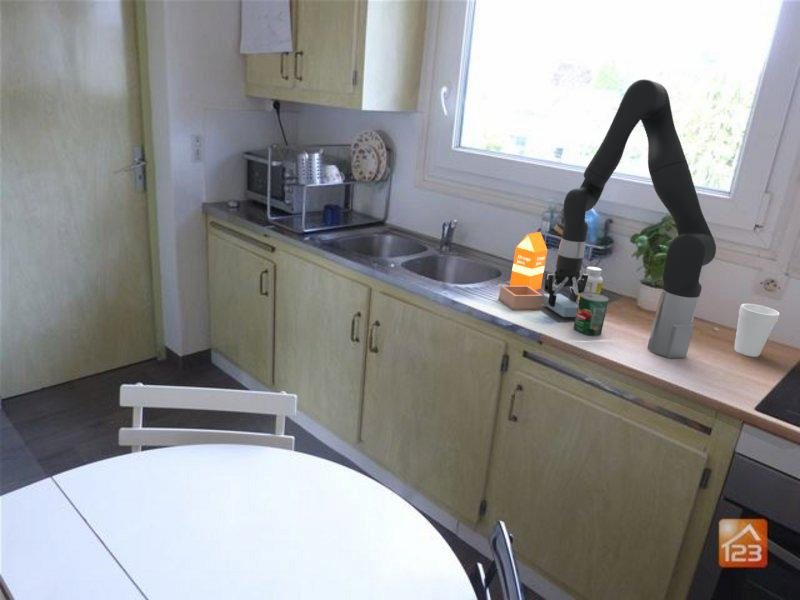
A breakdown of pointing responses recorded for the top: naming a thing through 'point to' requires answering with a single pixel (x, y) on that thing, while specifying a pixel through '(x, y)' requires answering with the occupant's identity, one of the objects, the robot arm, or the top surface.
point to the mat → (556, 315)
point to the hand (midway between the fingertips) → (561, 305)
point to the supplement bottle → (593, 281)
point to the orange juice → (529, 262)
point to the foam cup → (754, 328)
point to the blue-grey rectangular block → (562, 305)
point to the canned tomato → (590, 313)
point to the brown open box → (520, 297)
